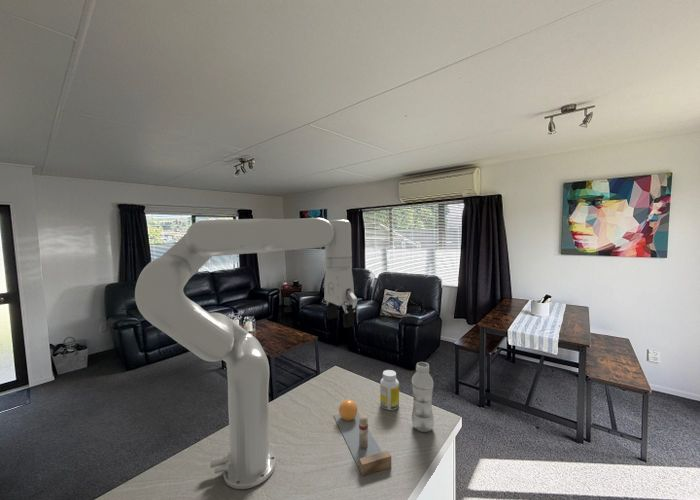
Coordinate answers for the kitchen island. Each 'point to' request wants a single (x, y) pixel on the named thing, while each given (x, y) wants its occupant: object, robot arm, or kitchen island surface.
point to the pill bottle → (389, 390)
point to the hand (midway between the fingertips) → (340, 322)
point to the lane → (356, 438)
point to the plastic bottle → (422, 398)
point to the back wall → (375, 463)
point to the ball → (348, 410)
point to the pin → (363, 432)
